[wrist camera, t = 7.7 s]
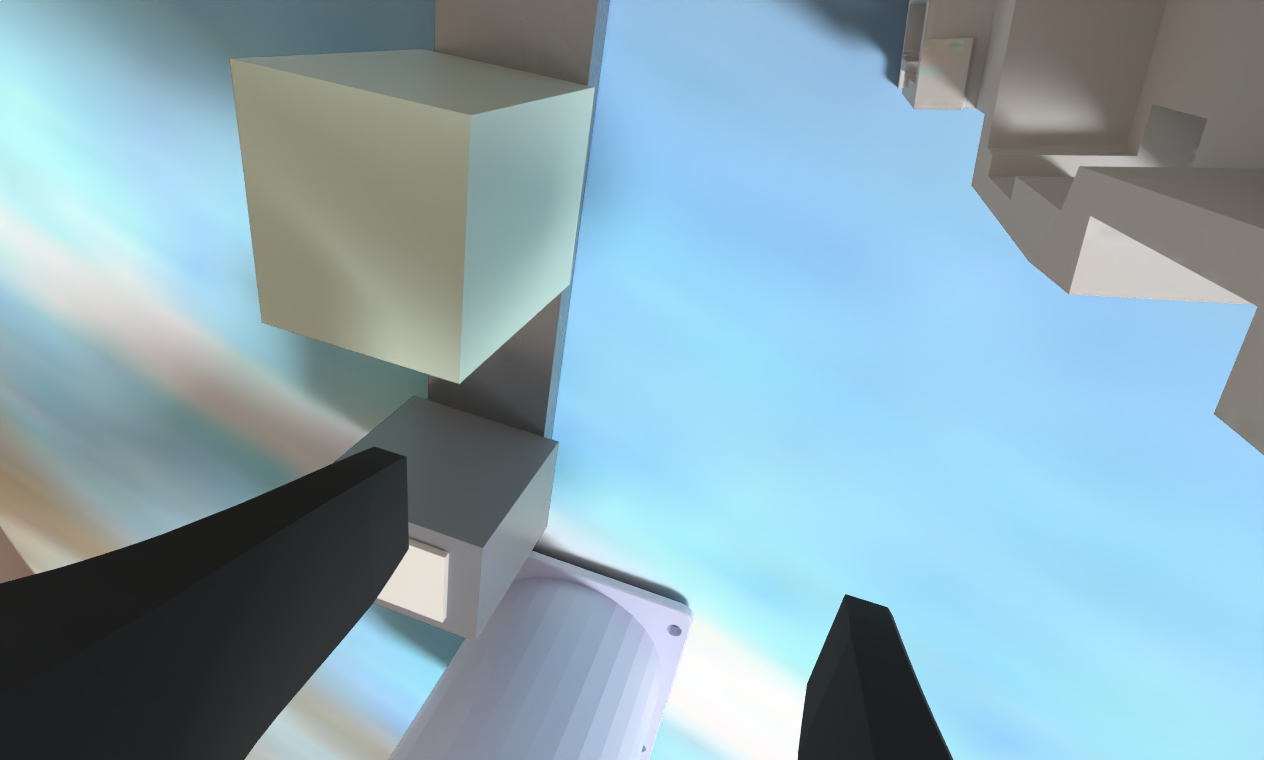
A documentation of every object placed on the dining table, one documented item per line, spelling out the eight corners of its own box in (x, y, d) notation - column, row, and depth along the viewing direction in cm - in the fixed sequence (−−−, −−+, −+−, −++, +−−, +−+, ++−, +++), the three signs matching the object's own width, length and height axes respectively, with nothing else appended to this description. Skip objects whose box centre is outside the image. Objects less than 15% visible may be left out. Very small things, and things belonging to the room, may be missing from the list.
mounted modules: (546, 526, 23) (471, 648, 18) (413, 480, 23) (310, 585, 19) (682, -445, 11) (574, -741, 7) (419, -467, 12) (174, -745, 8)
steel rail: (540, 526, 24) (530, 540, 23) (437, 491, 24) (426, 504, 24) (674, -494, 12) (663, -527, 11) (467, -510, 12) (445, -540, 12)
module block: (569, 284, 18) (459, 384, 13) (417, 242, 19) (257, 321, 14) (595, 86, 16) (470, 116, 11) (418, 48, 17) (224, 57, 11)
